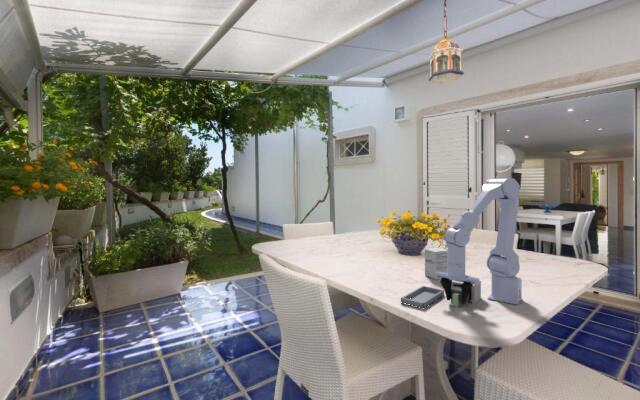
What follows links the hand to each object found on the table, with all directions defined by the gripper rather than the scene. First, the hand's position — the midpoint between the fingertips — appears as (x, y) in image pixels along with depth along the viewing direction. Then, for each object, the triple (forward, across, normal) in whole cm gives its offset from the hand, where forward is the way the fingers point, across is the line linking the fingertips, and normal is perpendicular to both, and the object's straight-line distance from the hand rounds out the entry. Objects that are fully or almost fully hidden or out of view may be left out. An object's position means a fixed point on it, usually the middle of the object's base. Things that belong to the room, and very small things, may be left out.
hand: (456, 301), depth 116 cm
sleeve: (+1, 0, +9) cm, 9 cm away
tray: (+1, -12, -2) cm, 12 cm away
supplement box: (+2, -20, +29) cm, 35 cm away
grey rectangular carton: (+1, 0, +4) cm, 4 cm away
